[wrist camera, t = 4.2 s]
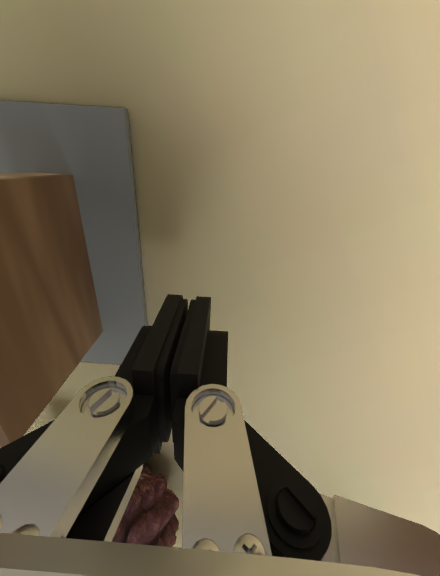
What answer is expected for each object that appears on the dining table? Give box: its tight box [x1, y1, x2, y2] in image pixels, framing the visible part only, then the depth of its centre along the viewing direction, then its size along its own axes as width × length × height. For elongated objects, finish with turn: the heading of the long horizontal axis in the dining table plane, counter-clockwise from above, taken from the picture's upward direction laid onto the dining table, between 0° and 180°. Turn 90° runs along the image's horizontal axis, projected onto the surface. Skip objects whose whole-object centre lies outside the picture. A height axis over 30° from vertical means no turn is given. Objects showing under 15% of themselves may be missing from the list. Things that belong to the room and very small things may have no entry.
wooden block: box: [0, 172, 103, 448], centre depth 12 cm, size 2×10×8 cm, turn 177°
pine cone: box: [112, 464, 179, 547], centre depth 21 cm, size 18×10×10 cm, turn 26°
